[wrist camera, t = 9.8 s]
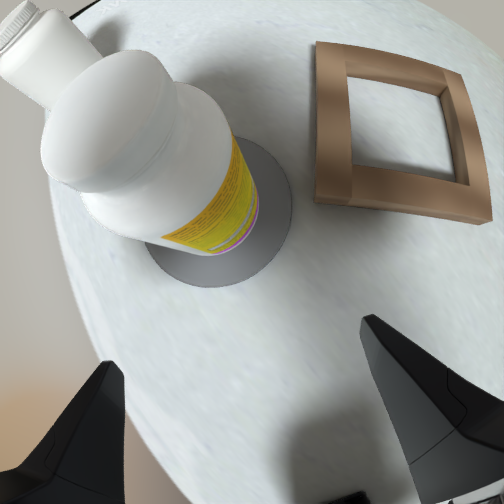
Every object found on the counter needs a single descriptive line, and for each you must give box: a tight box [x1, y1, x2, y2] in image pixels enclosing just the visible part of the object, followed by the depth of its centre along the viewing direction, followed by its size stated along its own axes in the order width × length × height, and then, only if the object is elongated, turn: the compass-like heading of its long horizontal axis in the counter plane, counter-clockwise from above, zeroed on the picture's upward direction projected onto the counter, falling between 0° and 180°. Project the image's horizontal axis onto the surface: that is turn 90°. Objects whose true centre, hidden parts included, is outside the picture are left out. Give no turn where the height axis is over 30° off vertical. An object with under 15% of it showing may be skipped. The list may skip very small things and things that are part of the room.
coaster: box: [144, 136, 292, 288], centre depth 19 cm, size 11×11×1 cm
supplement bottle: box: [41, 50, 259, 256], centre depth 12 cm, size 7×7×13 cm
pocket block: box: [314, 41, 493, 225], centre depth 17 cm, size 14×14×2 cm
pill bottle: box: [0, 0, 104, 112], centre depth 15 cm, size 8×8×15 cm
